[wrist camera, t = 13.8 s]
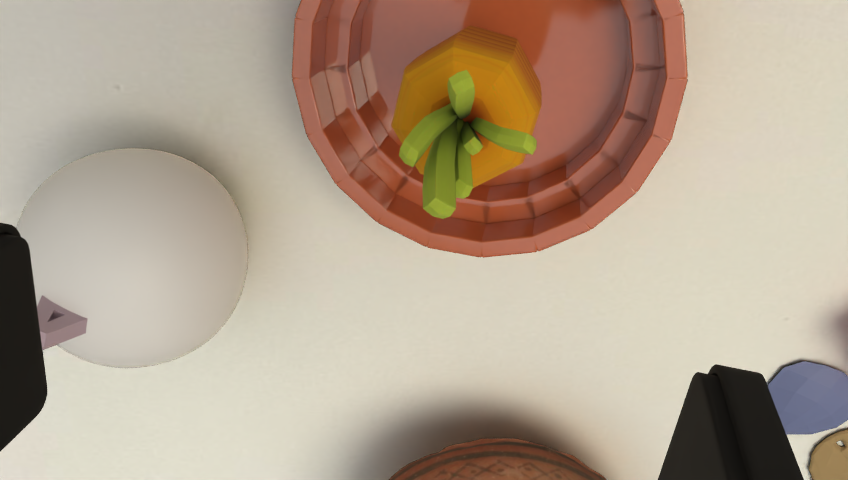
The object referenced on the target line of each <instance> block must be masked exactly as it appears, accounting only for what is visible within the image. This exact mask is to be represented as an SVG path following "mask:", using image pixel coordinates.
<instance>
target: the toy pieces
mask: <svg viewBox="0 0 848 480" xmlns="http://www.w3.org/2000/svg"><path fill="white" fill-rule="evenodd" d="M768 389H769V391H770V394H771V396H772V399H773V402H774V404H775V407H776V409H777V412H778V415H779V417H780V420H781V422H782V425H783V427H784V430H785V433H786V434H814V433H818V432H821V431H825V430H829V429H833V428H836V427H838V426H839V425H841V424H842V423H844V422H845V421H847V420H848V377H847V375H846V374H845V373H844V372H841V371H839V370H836V369H834V368H831V367H828V366H826V365H821V364H816V363H811V362H806V361H803V362H800V363H797V364H793V365H790V366H787V367H784V368H783V369H782V370H781V371H780V372H779V373H778V374H777V375H776V376H775V378H774V379H773V380H772V381H771V382H770V383H769V384H768ZM840 440H841V441H842V442H843V443H844V445H845V446H844V447H840V446H838V445H837V443H836V442H838V441H840ZM809 471H810V473H811V475H812V480H848V430H844V431H840V432H837V433H835V434H833V435H831V436H829V437H827V438H825V439H824V440H823V441H822V442H821V443H820V444H819V445H818V446H817V447H816V448H815V450H814V451H813V453H812V454H811V461H810V466H809Z"/></svg>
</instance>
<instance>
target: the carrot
mask: <svg viewBox="0 0 848 480" xmlns="http://www.w3.org/2000/svg"><path fill="white" fill-rule="evenodd" d="M541 105H542V92H541V85H540V81H539V79H538V77H537V75H536V73H535V71H534V70H533V68H532V66H531V64H530V62H529V60H528V58H527V56H526V54H525V53H524V51H523V49H522V47H521V45H520V43H519V41H518V39H517V38H514V37H511V36H507V35H504V34H500V33H497V32H493V31H490V30H486V29H483V28H479V27H476V26H468V27H466V28H465V29H463V30H461V31H460V32H458V33H456V34H454V35H453V36H451V37H449V38H448V39H446V40H444V41H442V42H441V43H439V44H437V45H436V46H434V47H432V48H431V49H429V50H427V51H426V52H424V53H423V54H421V55H420V56H418V57H417V58H416V59H414V60H413V61H412V62H411V63H410V64H409V65H407V66H406V67H405V70H404V73H403V77H402V82H401V86H400V90H399V94H398V99H397V103H396V107H395V111H394V116H393V120H392V124H391V125H392V128H393V130H394V131H395V133H396V135H397V136H398V138H399V140H400V141H401V143H402V146H401V148H400V152H399V156H400V158H401V159H402V160H403V162H404V163H405V164H407V165H409V166H411V167H414V165H415V166H416V168H417V169H418V171H419V173H420V174H423V175H424V177H423V188H422V192H423V209H424V210H425V211H427V212H428V213H429V214H430V215H432V216H434V217H437V218H441V219H444V218H447V217H450V216H451V215H452V213H453V212H454V210H455V209H456V198H461V199H464V198H466V197H468V196H469V195H470V193H471V191H472V188H474V187H476V186H478V185H480V184H482V183H484V182H486V181H488V180H490V179H492V178H494V177H496V176H498V175H500V174H502V173H504V172H506V171H508V170H510V169H512V168H514V167H516V166H518V165H520V164H522V163H523V161H524V159H525V156H526V154H531V155H533V153H534V151H535V150H536V146H537V140H536V139H535V138H534V137H533V136H532V134H533V131H534V128H535V125H536V122H537V119H538V116H539V113H540V110H541Z"/></svg>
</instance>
